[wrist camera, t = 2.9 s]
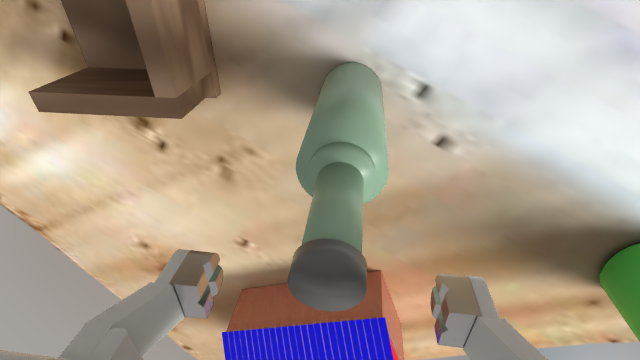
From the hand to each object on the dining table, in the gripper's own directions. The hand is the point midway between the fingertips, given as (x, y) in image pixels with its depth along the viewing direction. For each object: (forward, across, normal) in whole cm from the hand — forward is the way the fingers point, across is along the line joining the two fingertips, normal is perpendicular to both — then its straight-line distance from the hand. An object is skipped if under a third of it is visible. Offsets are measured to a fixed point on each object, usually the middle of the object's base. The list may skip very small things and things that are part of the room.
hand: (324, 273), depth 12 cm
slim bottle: (+19, 0, 0) cm, 19 cm away
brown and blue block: (+20, +2, +30) cm, 36 cm away
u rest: (+19, +17, -6) cm, 26 cm away
